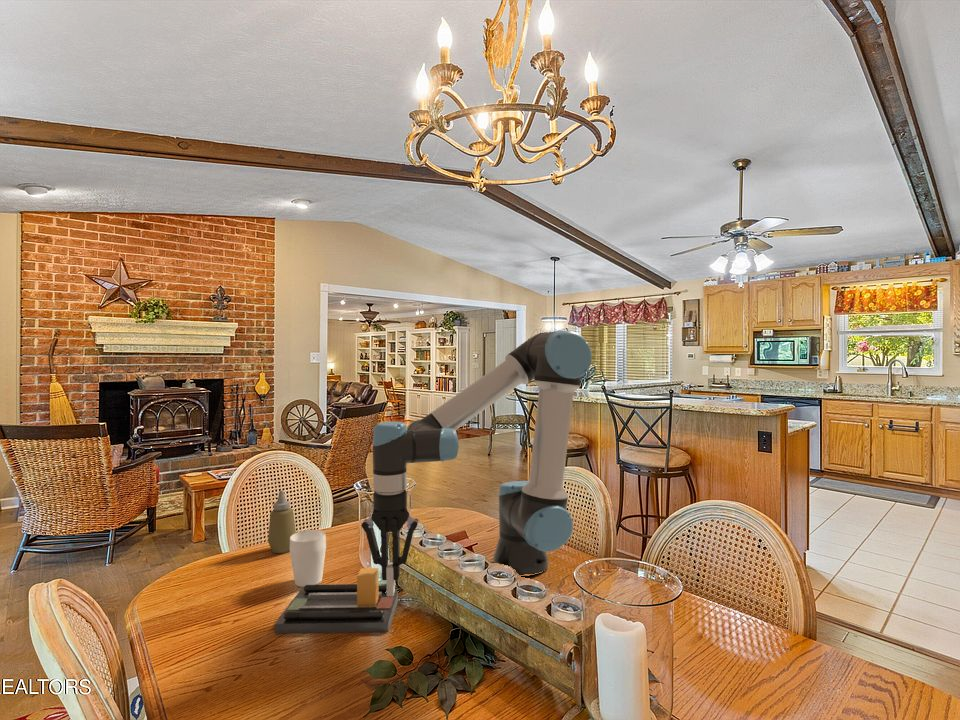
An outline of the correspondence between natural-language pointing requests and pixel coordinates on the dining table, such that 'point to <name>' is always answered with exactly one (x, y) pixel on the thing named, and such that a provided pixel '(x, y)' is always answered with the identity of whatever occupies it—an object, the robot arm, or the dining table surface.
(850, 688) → the dining table surface
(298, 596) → the panel
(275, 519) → the squeeze bottle
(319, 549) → the cup
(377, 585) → the amber wood post
